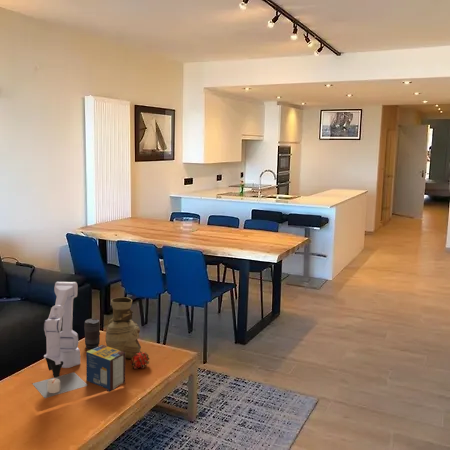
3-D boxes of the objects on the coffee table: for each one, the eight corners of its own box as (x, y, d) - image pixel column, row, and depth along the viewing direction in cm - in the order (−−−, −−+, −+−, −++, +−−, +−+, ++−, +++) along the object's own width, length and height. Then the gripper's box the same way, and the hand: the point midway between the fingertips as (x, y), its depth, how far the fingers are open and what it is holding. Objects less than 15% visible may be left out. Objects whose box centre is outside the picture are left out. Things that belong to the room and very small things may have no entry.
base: (74, 374, 239) (74, 365, 238) (88, 387, 226) (88, 378, 226) (32, 385, 226) (32, 376, 225) (44, 400, 214) (44, 390, 213)
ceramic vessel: (151, 350, 269) (152, 297, 264) (126, 364, 251) (126, 308, 246) (123, 342, 278) (124, 291, 273) (97, 355, 259) (97, 301, 254)
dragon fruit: (149, 365, 254) (134, 377, 245) (138, 353, 256) (122, 365, 246) (156, 356, 250) (140, 368, 240) (144, 344, 252) (129, 355, 242)
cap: (49, 387, 223) (49, 377, 222) (61, 387, 223) (61, 378, 223) (46, 393, 218) (46, 383, 217) (58, 393, 218) (57, 383, 217)
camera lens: (88, 343, 275) (88, 317, 272) (102, 344, 273) (102, 319, 271) (82, 349, 267) (81, 322, 264) (96, 350, 266) (96, 324, 263)
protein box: (101, 374, 240) (102, 344, 237) (125, 383, 232) (126, 352, 229) (85, 382, 231) (85, 351, 228) (109, 392, 223) (110, 360, 221)
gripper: (39, 340, 222) (40, 368, 224) (48, 352, 210) (49, 382, 213) (55, 337, 226) (55, 365, 228) (65, 349, 214) (65, 378, 217)
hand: (53, 373), depth 221 cm, fingers open, 7 cm apart
